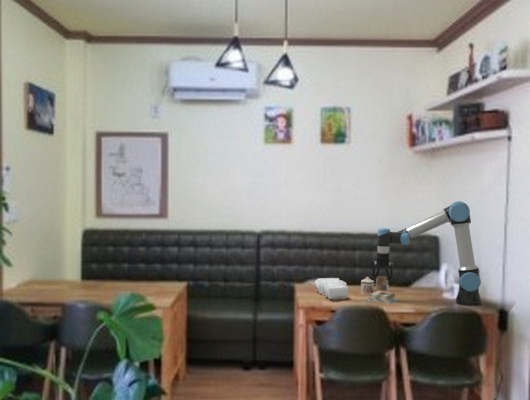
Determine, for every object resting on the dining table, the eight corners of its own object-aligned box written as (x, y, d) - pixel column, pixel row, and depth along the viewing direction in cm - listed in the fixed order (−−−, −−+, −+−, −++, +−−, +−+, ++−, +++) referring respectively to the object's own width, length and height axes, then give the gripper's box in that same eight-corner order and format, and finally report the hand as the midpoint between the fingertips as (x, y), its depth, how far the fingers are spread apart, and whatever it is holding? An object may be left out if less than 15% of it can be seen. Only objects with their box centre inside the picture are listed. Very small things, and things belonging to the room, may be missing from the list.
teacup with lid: (361, 295, 367) (361, 278, 366) (359, 292, 376) (359, 275, 376) (379, 295, 366) (379, 278, 366) (377, 293, 375) (377, 276, 375)
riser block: (394, 299, 353) (394, 293, 353) (388, 302, 343) (388, 296, 343) (376, 297, 359) (376, 291, 359) (370, 300, 349) (370, 294, 349)
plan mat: (399, 300, 353) (400, 299, 353) (392, 304, 340) (392, 303, 340) (373, 296, 363) (373, 296, 362) (364, 301, 349) (364, 300, 349)
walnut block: (388, 289, 352) (388, 276, 352) (385, 290, 347) (385, 278, 347) (379, 288, 355) (379, 275, 355) (376, 289, 350) (376, 277, 350)
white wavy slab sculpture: (351, 301, 347) (351, 284, 347) (325, 301, 345) (325, 285, 345) (336, 291, 382) (336, 275, 382) (313, 291, 380) (313, 276, 379)
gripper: (399, 253, 349) (398, 289, 349) (371, 251, 358) (370, 286, 359) (396, 254, 342) (395, 291, 343) (367, 252, 352) (366, 288, 352)
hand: (382, 288), depth 351 cm, fingers closed on walnut block, 6 cm apart
